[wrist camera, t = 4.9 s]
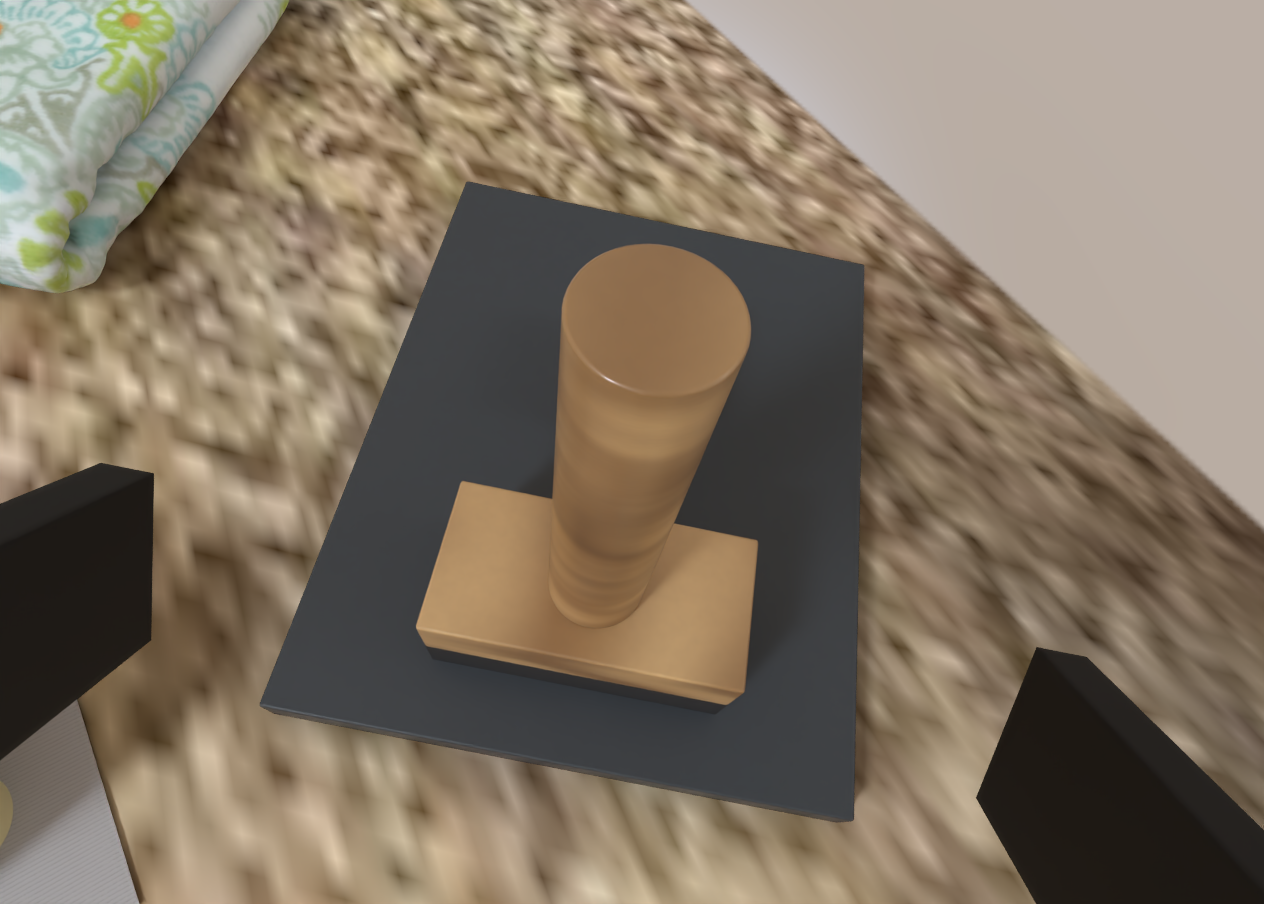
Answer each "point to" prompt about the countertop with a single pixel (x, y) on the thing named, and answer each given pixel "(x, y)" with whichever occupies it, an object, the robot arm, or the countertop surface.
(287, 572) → the countertop surface
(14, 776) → the stacked layers on plate
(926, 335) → the countertop surface
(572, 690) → the serving tray
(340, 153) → the countertop surface
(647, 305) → the scrub brush
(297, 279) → the countertop surface
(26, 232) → the towel
